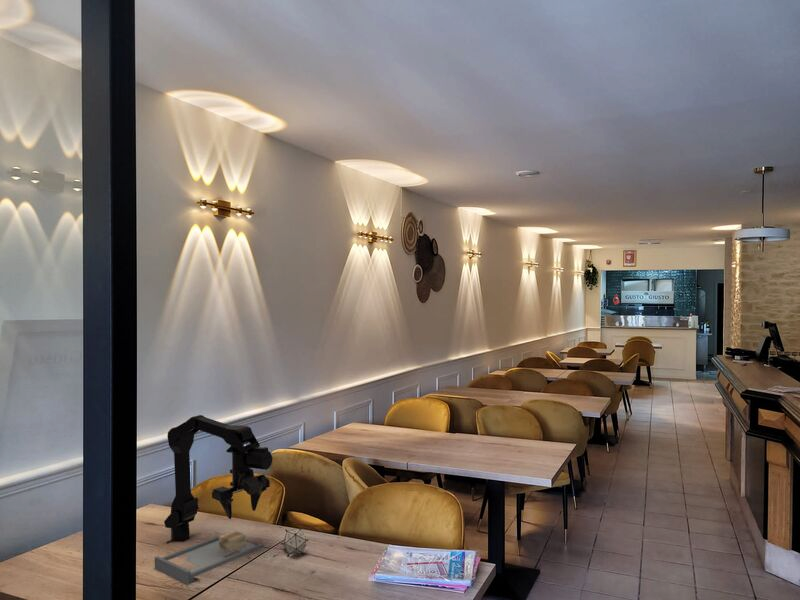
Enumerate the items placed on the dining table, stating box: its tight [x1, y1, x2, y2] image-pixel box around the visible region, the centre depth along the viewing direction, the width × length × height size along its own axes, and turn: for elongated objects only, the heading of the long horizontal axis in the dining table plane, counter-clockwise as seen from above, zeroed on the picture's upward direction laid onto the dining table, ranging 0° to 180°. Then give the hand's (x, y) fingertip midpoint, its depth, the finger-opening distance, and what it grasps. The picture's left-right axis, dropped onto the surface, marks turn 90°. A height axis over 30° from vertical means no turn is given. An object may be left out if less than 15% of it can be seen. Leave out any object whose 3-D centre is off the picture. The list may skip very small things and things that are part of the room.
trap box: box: [154, 531, 264, 585], centre depth 187 cm, size 18×28×4 cm, turn 142°
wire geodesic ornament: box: [280, 526, 309, 558], centre depth 190 cm, size 9×8×10 cm
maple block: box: [218, 530, 247, 552], centre depth 194 cm, size 6×6×4 cm
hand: (242, 514), depth 191 cm, fingers open, 9 cm apart
